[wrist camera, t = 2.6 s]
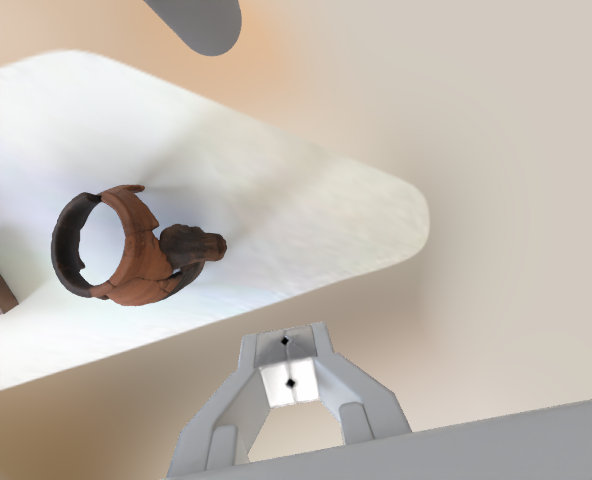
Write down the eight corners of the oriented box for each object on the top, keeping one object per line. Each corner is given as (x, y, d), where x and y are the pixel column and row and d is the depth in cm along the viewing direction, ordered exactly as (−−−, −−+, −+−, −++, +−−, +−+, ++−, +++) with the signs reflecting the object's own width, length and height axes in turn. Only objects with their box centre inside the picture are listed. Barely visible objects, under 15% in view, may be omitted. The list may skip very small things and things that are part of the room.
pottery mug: (140, 300, 27) (42, 320, 19) (132, 205, 27) (36, 186, 20) (253, 288, 24) (195, 306, 16) (241, 182, 24) (180, 147, 17)
